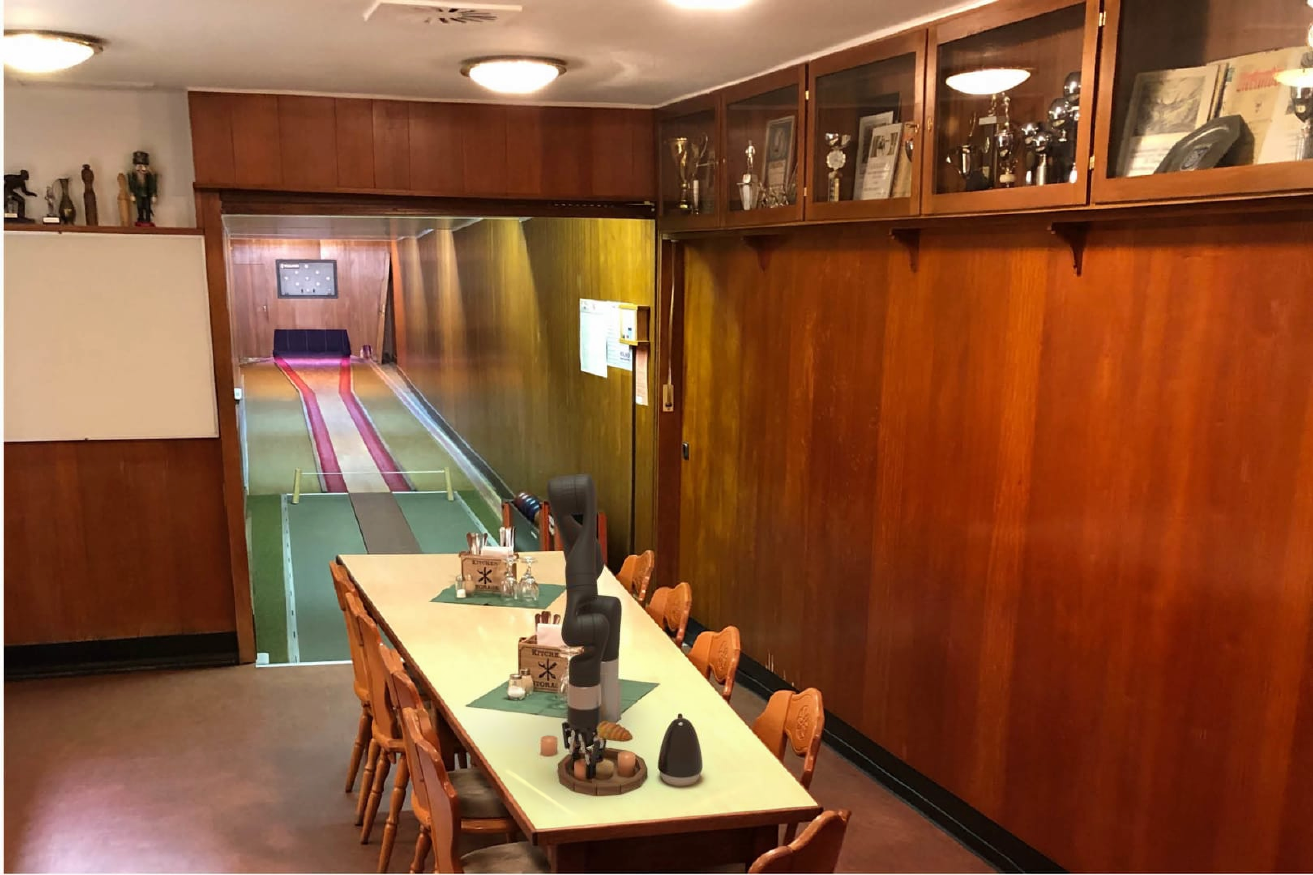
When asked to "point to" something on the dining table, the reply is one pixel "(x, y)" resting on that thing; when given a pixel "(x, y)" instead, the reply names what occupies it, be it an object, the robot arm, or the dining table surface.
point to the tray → (603, 784)
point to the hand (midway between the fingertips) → (583, 773)
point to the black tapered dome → (680, 754)
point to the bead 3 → (626, 764)
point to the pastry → (613, 732)
